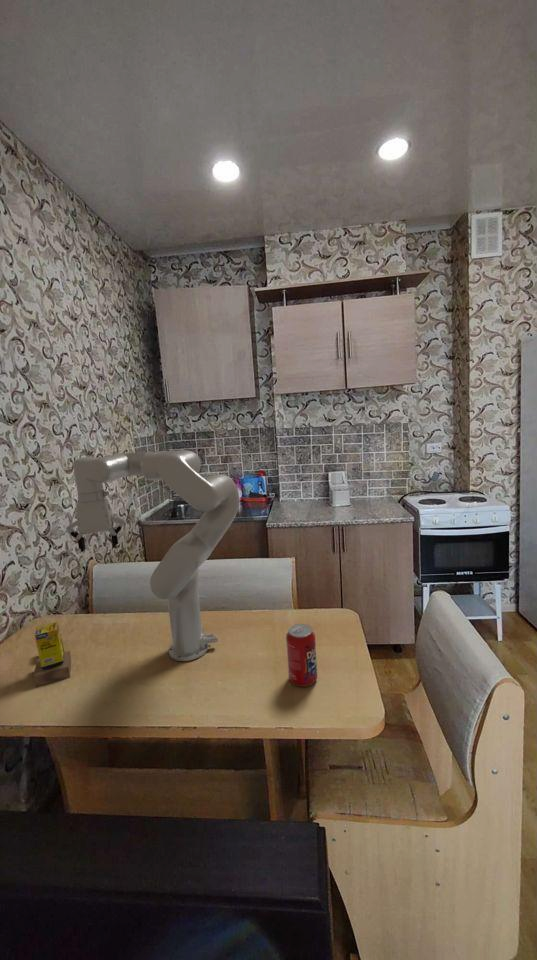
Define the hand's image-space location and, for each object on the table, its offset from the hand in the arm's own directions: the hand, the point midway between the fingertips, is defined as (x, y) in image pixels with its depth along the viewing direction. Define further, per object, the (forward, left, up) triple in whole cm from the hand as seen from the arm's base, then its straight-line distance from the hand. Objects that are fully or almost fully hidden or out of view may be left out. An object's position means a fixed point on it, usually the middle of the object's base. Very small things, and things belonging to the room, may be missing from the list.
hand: (99, 548), depth 134 cm
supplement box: (+15, +12, -30) cm, 35 cm away
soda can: (-56, +36, -34) cm, 75 cm away
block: (+18, +1, -33) cm, 38 cm away
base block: (+15, +12, -34) cm, 39 cm away
